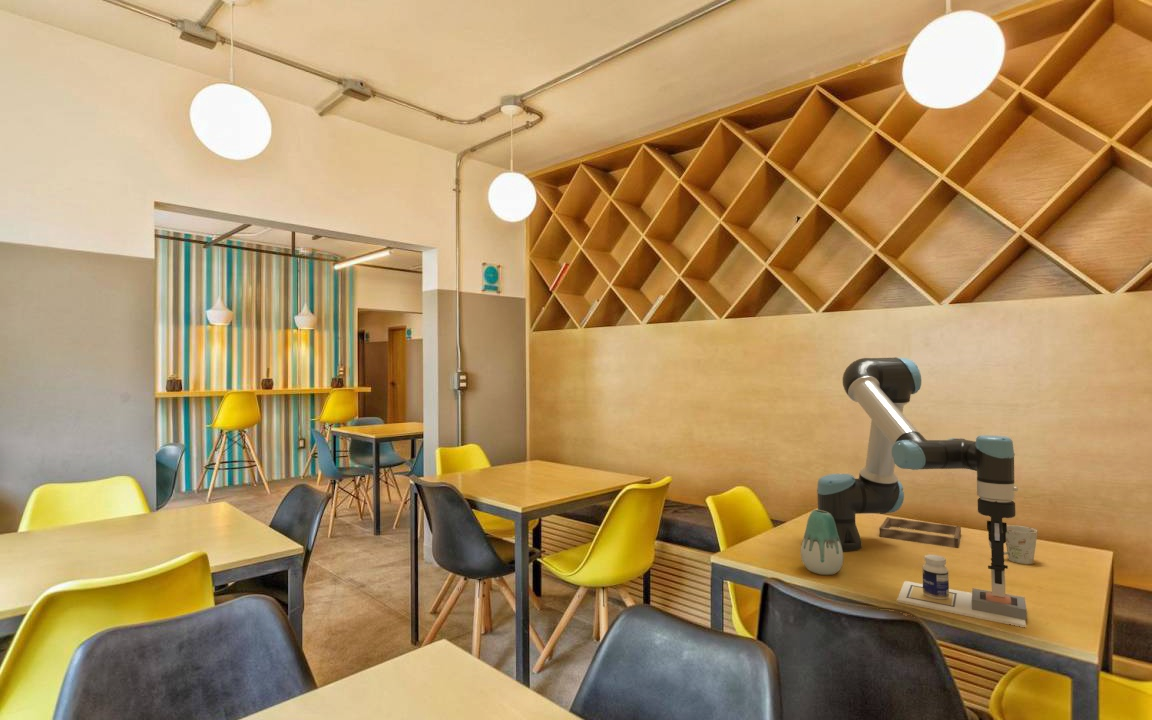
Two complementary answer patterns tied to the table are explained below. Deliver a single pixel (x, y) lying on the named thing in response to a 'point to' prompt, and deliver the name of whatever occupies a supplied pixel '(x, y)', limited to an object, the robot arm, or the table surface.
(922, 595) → the white base plate
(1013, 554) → the mug
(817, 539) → the vase
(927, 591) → the pill bottle
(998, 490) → the robot arm
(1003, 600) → the button
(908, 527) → the book tray
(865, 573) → the table surface
